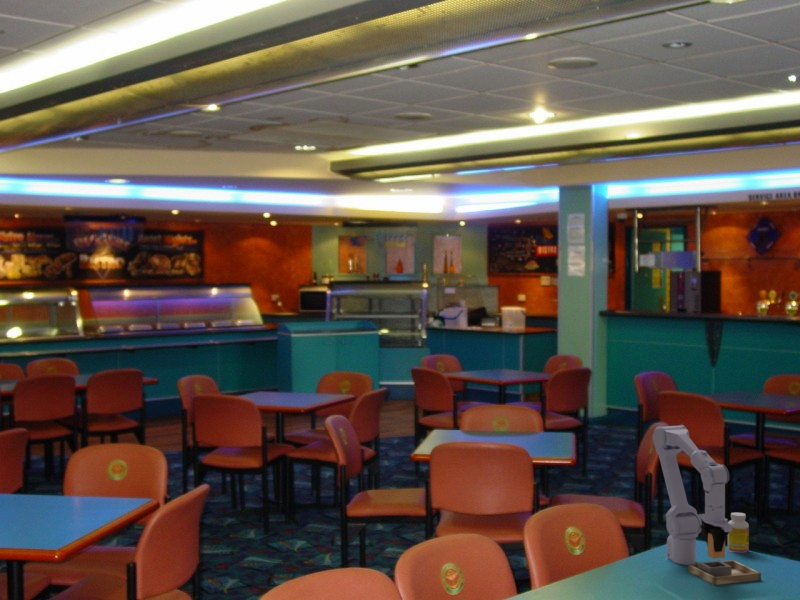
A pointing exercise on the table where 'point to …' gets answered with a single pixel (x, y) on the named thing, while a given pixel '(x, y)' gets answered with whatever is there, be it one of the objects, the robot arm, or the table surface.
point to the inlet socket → (715, 568)
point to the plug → (711, 549)
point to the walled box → (738, 575)
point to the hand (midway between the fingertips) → (714, 549)
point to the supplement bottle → (738, 533)
